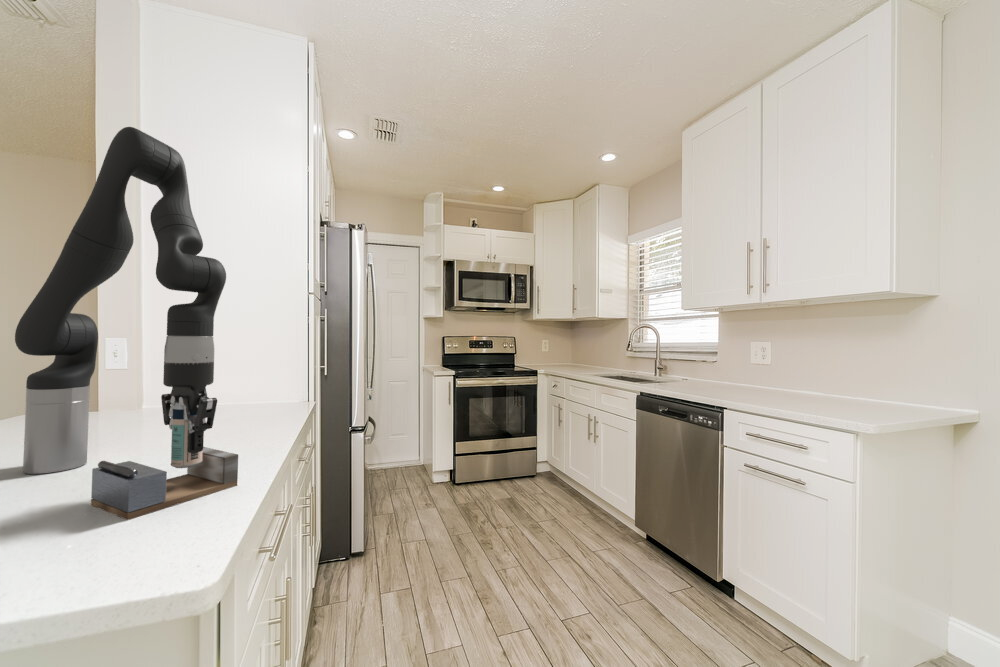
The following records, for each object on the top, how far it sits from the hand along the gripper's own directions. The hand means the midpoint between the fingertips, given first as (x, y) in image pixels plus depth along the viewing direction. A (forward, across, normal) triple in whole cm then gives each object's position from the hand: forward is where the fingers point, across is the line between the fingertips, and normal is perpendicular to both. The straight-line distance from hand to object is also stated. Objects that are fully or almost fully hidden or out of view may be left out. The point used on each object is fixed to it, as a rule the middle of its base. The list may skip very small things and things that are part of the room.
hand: (187, 449), depth 76 cm
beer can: (+3, 0, 0) cm, 3 cm away
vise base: (+7, 0, +3) cm, 8 cm away
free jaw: (+6, 0, +9) cm, 11 cm away
